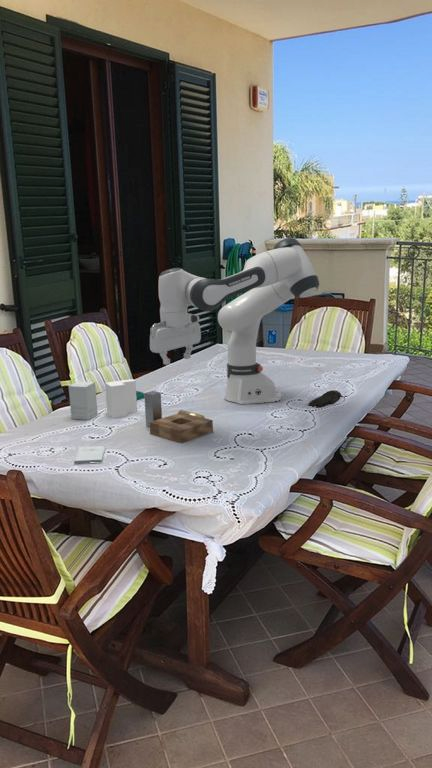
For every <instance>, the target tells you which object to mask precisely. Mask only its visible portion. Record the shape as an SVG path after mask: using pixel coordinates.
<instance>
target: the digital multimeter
mask: <svg viewBox="0 0 432 768" xmlns="http://www.w3.org/2000/svg"><path fill="white" fill-rule="evenodd" d="M136 398H137V401H140V400H142V399H145V395H144V392H142V391H140V390H139V391H138V390H136Z"/></svg>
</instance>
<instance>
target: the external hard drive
mask: <svg viewBox="0 0 432 768" xmlns="http://www.w3.org/2000/svg"><path fill="white" fill-rule="evenodd" d="M105 449H106V446H104V445H99V446H97V445H95V446H80V447H79V448H78V450H77V453H76V455H75V457H74V461H73V464H74V463H90V462H102V463H103V461H104V457H105V453H106V450H105ZM104 452H105V453H104ZM103 456H104V457H103ZM102 460H103V461H102ZM90 464H91V463H90Z"/></svg>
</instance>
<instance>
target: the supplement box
mask: <svg viewBox="0 0 432 768" xmlns="http://www.w3.org/2000/svg"><path fill="white" fill-rule="evenodd" d="M68 395H69V405H70V406H69V407H70V417H71V419H72V420H83V421H84V420H85V421H89V420H91V419H93V418H95V417H96V416H98V415H99V413H98V401H97V389H96V382H95V381H76V382H73V383H72V384H70V385H68Z"/></svg>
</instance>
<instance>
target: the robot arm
mask: <svg viewBox="0 0 432 768" xmlns="http://www.w3.org/2000/svg"><path fill="white" fill-rule="evenodd" d="M319 286H320V281H319V276H318V275H317V274H316V271H315V269H314V266H313V264H312V262H311V260H310V259H309V257H308V255H307V254H306V252H305V250H304V249H303V248H302V244H301V243H300V242H299V240H298V239H296V238H293V237H286V238H283V239H282V240H279V241H278V242H277V243H275V245H274V246H273V248H272V249H269V250H267V251H263V252H260V253H258V254H255V255H254V256H251V257H250V258H248V259H247V260H246V261H245V263H244V267H243V269H242V270H241V271H239V272H237V273H234V274H233V275H229V276H226V277H223V278H221V279H215V278H206V277H201V276H198V275H195V274H192V273H189V272H188V271H185V270H184V269H183V268H181V267H174V268H169V269H166V270H164V271H162V272H161V273H160V275H159V277H158V298H159V299H158V300H159V303H160V307H159V316H160V317H159V318H160V322H158V323H156V322H155V323H154V324H152V326H151V327H150V329H149V330H150V335H149V349H150V351H151V352H152V353H155V354H159V355H160V358H161V359H162V363H163V365H167V366H168V365H170V364H171V358H168V356H167V354H168V351H171V350H176V349H179V348H180V349H181V348H183V347H185V349H186V350H185V352H184V353H183V358H184V359H185V360H189V359H191V356H192V355H191V353H192V351H193V347H194V346H193V345H197V344H200V342H201V339H202V334H201V326H200V325H201V324H200V323H199V322H200V316H199V314H193V313H189V312H188V307H190V306H193V307H195V308H197V309H199V310H200V311H202V312H211V311H215V310H217V309H218V308H220V307H221V305H222V304H223V303H225V302H226V301H227V300H228V299H229V300H230V299H231V298H232V297H235V296H237V295H240V294H241V295H240V296H238V297H236V298H235V299H233V300H231V301H229V302H228V303H227V304H225V305H224V306H223V307H221V308H220V310H219V311H218V313H217V322H218V325H219V326H220V327H221V328H222V329H223V330H225V331H227V332H228V331H229V332H231V335H230V338H229V340H228V342H227V364H226V377H227V385H226V390H225V395H224V399H225V400H226V401H228V402H233V403H237V404H240V405H251V404H263V403H264V402H265V403H275V401H277V402H279V400H280V401H281V400H282V394H281V393H280V392H279V391H278V390H277V389H276V384H275V382H274V381H273V380H272V379H271V378H270V377H268V376H267V375H266V374H264V373H263V372H262V371H264V370H263V369H264V367H263V366H262V365H261V364H260V363H259V362H256V361H257V341H258V339H257V338H258V336H259V335H258V334H259V329H260V324H261V321H262V319H263V317H264V316H266V315H268V314H270V313H272V312H273V311H275V310H276V309H278V308H279V307H281V306H282V305H283V304H285V303H287V302H288V301H290V300H291V299H293V298H294V297H295V298H298V299H303V298H307V297H310V296H311V295H313V294H314V293H315V292H317V290H318V289H319ZM242 293H243V294H242Z"/></svg>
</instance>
